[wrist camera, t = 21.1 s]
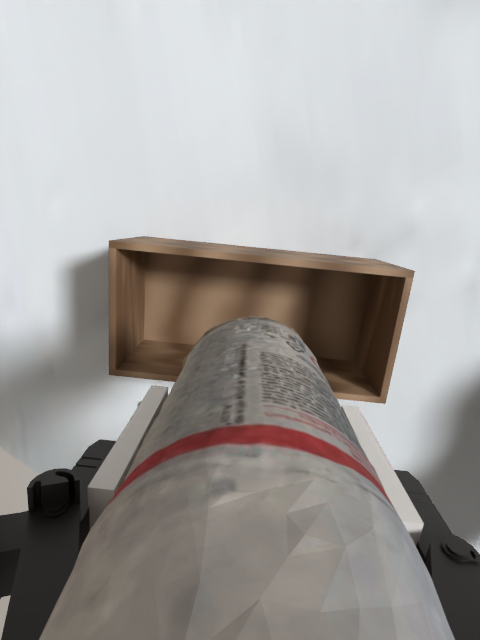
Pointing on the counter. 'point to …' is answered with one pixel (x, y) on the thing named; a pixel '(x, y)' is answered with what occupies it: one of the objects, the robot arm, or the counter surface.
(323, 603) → the spray can
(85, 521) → the robot arm
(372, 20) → the counter surface
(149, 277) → the wooden box
